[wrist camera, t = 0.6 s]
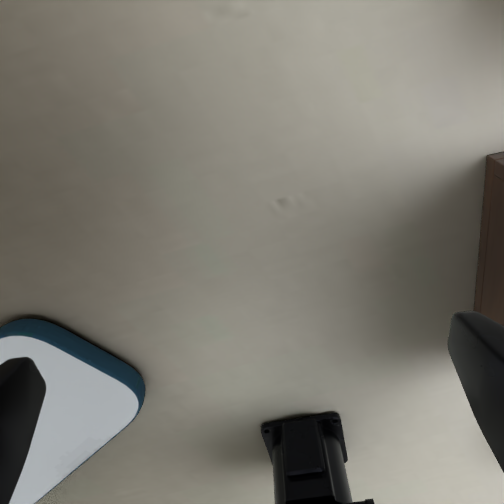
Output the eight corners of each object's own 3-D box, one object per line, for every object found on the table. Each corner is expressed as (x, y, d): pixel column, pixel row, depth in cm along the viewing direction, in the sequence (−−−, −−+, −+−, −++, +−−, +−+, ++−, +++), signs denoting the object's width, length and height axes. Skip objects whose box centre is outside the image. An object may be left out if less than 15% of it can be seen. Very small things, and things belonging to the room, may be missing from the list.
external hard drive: (20, 296, 25) (3, 316, 23) (165, 378, 29) (160, 400, 27) (-101, 455, 34) (-119, 478, 32) (23, 501, 38) (13, 524, 36)
